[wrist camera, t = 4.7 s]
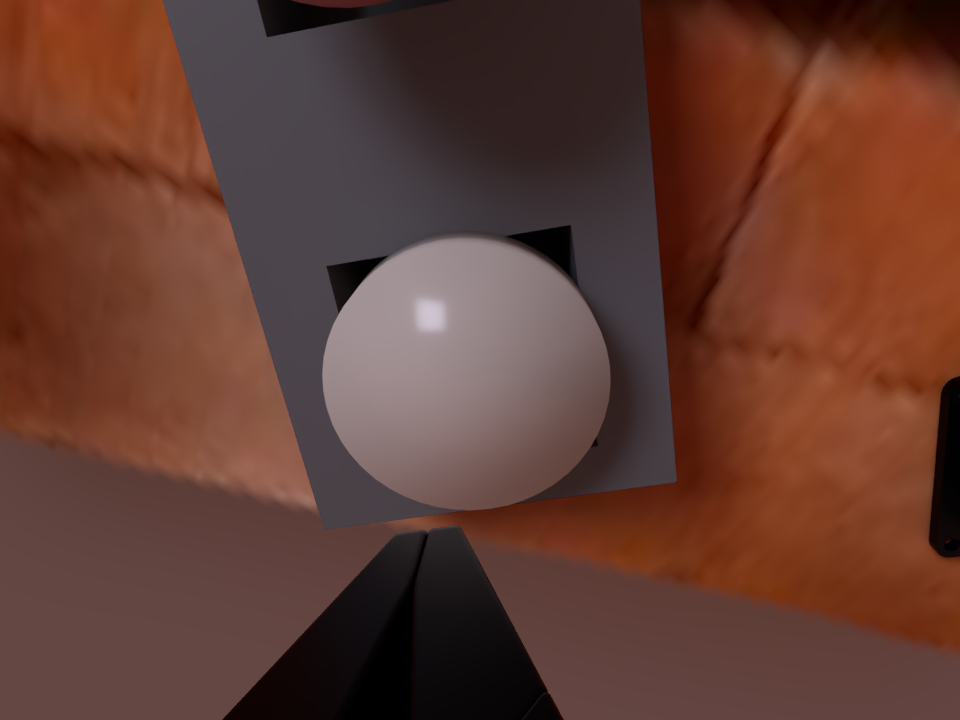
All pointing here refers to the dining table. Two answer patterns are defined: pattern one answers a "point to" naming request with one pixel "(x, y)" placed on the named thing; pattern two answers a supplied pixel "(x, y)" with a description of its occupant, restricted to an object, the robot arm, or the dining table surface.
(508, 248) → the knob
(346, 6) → the knob mid
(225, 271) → the dining table surface
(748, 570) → the dining table surface
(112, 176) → the dining table surface
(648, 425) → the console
